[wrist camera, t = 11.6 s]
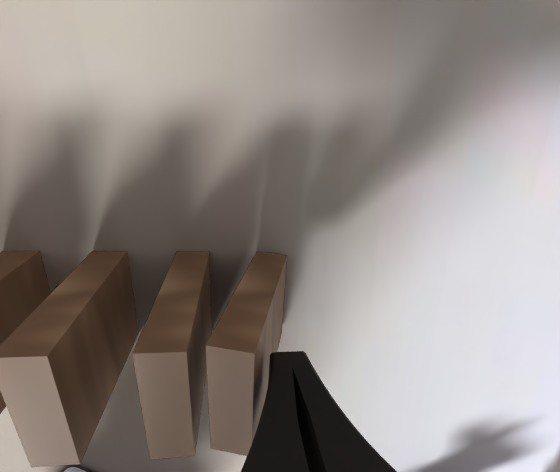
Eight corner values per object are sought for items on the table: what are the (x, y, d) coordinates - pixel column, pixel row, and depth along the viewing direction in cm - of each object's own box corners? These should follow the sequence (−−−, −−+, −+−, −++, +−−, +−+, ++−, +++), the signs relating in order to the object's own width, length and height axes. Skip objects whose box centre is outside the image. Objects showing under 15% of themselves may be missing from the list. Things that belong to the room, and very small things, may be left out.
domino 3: (126, 251, 16) (46, 356, 9) (138, 331, 18) (79, 463, 11) (92, 251, 16) (-13, 357, 9) (108, 332, 18) (31, 467, 11)
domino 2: (209, 251, 16) (186, 351, 10) (212, 330, 18) (194, 455, 12) (176, 251, 16) (132, 353, 10) (183, 330, 18) (149, 459, 12)
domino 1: (287, 255, 16) (254, 353, 10) (281, 333, 18) (251, 456, 12) (256, 251, 16) (205, 345, 10) (254, 329, 18) (210, 448, 12)
